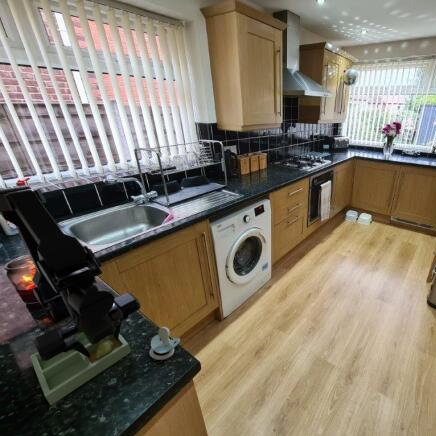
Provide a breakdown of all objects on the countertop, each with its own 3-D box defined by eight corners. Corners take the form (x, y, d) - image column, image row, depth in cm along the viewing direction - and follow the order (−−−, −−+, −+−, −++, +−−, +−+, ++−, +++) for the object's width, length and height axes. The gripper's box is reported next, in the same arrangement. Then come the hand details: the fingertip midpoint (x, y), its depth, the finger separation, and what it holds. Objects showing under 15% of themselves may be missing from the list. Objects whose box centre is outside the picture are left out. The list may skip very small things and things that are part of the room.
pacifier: (168, 364, 59) (184, 342, 64) (162, 346, 56) (179, 325, 61) (143, 357, 60) (161, 337, 66) (136, 339, 58) (155, 320, 63)
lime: (99, 366, 57) (92, 351, 56) (90, 357, 60) (83, 342, 58) (120, 352, 61) (114, 337, 59) (110, 343, 63) (104, 329, 61)
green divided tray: (34, 364, 59) (29, 356, 58) (108, 324, 70) (104, 316, 69) (50, 405, 50) (45, 396, 49) (131, 352, 62) (128, 343, 60)
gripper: (31, 346, 43) (64, 401, 49) (143, 289, 56) (157, 338, 62) (19, 317, 49) (50, 369, 55) (122, 272, 62) (138, 318, 69)
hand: (103, 347), depth 60 cm, fingers open, 5 cm apart
